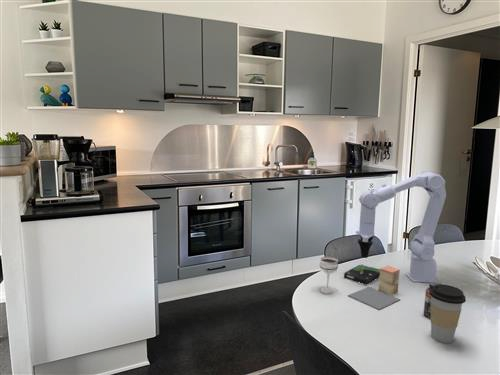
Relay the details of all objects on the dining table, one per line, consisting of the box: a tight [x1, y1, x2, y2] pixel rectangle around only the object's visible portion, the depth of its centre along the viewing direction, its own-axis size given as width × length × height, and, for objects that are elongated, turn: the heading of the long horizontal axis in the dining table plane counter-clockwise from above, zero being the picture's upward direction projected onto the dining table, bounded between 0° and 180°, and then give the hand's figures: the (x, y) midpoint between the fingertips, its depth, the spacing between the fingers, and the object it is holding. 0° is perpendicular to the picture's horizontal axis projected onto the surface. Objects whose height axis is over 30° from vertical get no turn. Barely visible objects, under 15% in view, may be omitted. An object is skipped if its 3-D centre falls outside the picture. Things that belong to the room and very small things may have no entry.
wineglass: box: [319, 256, 339, 294], centre depth 141 cm, size 7×7×12 cm
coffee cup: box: [429, 283, 466, 344], centre depth 110 cm, size 9×9×15 cm
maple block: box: [377, 265, 401, 296], centre depth 141 cm, size 5×5×9 cm
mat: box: [347, 286, 401, 311], centre depth 136 cm, size 13×13×1 cm
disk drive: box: [343, 264, 380, 286], centre depth 156 cm, size 10×3×15 cm
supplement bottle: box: [423, 281, 442, 320], centre depth 123 cm, size 6×6×11 cm
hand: (364, 254), depth 153 cm, fingers open, 7 cm apart
